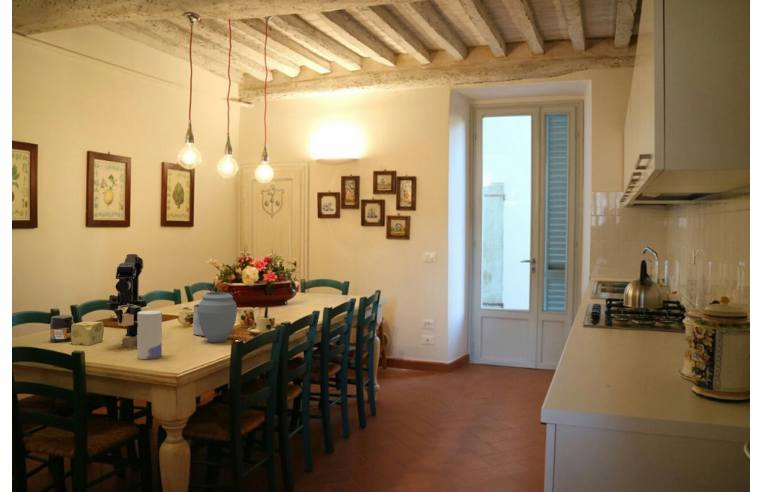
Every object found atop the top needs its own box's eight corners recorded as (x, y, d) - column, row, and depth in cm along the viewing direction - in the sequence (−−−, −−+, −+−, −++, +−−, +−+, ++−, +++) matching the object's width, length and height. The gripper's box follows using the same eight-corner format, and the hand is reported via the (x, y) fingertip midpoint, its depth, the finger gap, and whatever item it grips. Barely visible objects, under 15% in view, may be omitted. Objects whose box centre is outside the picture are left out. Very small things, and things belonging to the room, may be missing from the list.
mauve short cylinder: (138, 344, 278) (138, 335, 278) (146, 346, 273) (146, 338, 273) (122, 346, 272) (122, 338, 272) (129, 349, 267) (129, 340, 267)
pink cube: (127, 323, 276) (127, 313, 276) (133, 324, 273) (133, 314, 273) (117, 325, 272) (117, 314, 272) (123, 326, 269) (123, 315, 269)
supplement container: (57, 343, 275) (57, 319, 274) (45, 341, 280) (45, 316, 280) (78, 340, 284) (78, 316, 283) (67, 337, 289) (67, 314, 289)
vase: (244, 339, 295) (245, 292, 294) (222, 346, 276) (222, 296, 275) (212, 336, 301) (213, 290, 300) (188, 342, 283) (189, 294, 282)
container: (141, 354, 257) (141, 310, 256) (164, 354, 258) (164, 310, 257) (133, 359, 247) (134, 313, 246) (157, 359, 248) (157, 313, 247)
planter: (186, 335, 302) (186, 306, 301) (206, 330, 317) (206, 302, 316) (210, 338, 296) (211, 308, 295) (230, 332, 311) (230, 304, 310)
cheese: (89, 345, 272) (89, 325, 272) (69, 344, 274) (69, 323, 274) (104, 341, 282) (104, 321, 282) (85, 340, 284) (85, 320, 284)
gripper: (134, 287, 284) (134, 318, 285) (97, 290, 269) (97, 323, 270) (147, 289, 278) (147, 321, 278) (110, 292, 263) (110, 326, 263)
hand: (125, 322), depth 272 cm, fingers closed on pink cube, 5 cm apart
